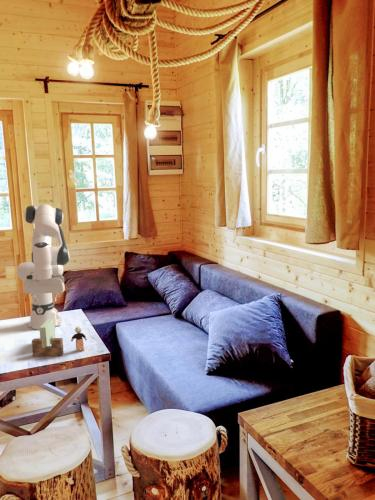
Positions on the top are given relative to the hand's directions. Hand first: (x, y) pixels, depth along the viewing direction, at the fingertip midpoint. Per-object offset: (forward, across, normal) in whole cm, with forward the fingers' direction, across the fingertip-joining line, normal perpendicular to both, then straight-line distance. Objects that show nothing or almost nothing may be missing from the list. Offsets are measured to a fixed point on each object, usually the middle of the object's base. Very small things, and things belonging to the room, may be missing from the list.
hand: (45, 301), depth 219 cm
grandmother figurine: (+24, -18, +8) cm, 31 cm away
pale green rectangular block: (+24, 0, 0) cm, 24 cm away
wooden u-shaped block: (+24, -4, +13) cm, 27 cm away
